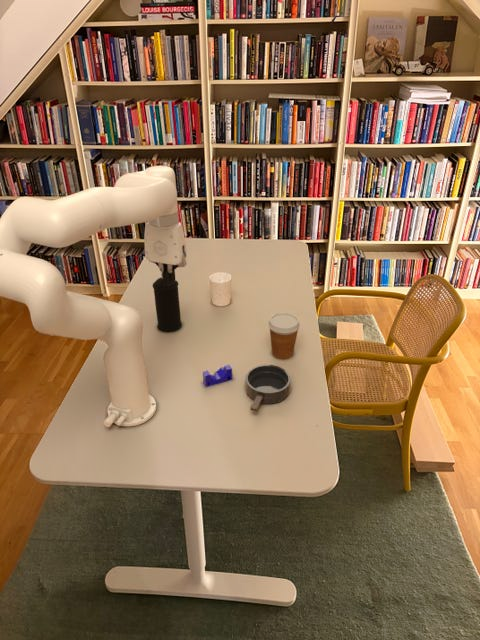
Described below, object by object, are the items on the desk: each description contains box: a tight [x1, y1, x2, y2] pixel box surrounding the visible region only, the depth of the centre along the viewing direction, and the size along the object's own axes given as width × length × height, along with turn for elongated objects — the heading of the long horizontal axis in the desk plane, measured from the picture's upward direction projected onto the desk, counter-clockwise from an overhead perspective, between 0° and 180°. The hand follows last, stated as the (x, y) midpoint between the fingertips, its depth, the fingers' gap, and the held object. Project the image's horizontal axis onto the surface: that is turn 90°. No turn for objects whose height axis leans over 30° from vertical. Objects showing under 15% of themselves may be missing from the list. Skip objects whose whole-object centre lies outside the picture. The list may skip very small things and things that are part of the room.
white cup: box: [208, 272, 232, 307], centre depth 173 cm, size 8×8×10 cm
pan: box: [245, 364, 292, 405], centre depth 132 cm, size 12×12×4 cm
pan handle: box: [250, 394, 264, 412], centre depth 125 cm, size 6×2×1 cm, turn 159°
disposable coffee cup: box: [267, 312, 301, 360], centre depth 145 cm, size 10×10×12 cm
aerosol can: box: [152, 271, 183, 333], centre depth 156 cm, size 8×8×20 cm
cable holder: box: [202, 364, 233, 388], centre depth 136 cm, size 8×4×4 cm, turn 114°
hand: (169, 283), depth 129 cm, fingers closed
